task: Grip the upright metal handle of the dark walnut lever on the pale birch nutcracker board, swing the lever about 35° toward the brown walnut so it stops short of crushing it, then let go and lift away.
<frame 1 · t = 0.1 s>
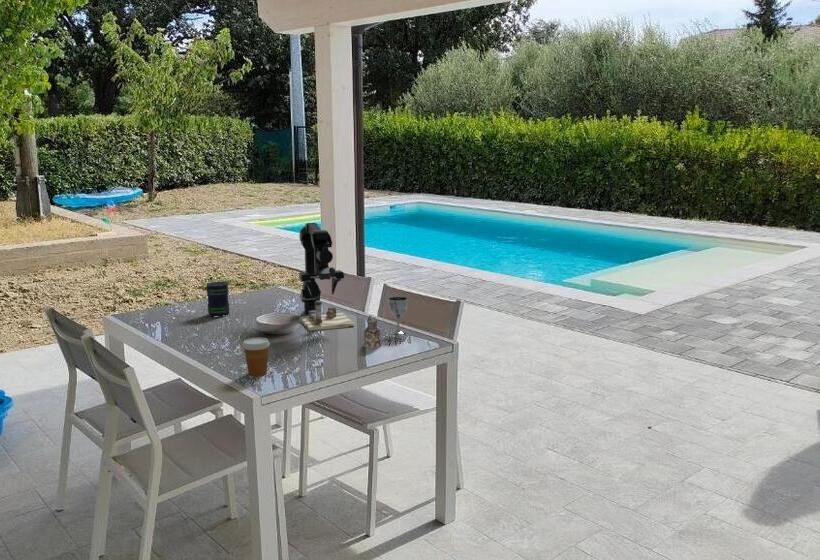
hand: (322, 295, 328), 15 cm above the table, tool pointing down, fingers open, 9 cm apart
nutcracker base: (326, 323, 338), on the table
figurine: (372, 346, 302), on the table
disposable coffee cup: (257, 373, 269), on the table
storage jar: (219, 315, 356), on the table
lever: (315, 309, 335), point 7 cm above the table, hinge at 0.0°
wine glass: (398, 333, 321), on the table
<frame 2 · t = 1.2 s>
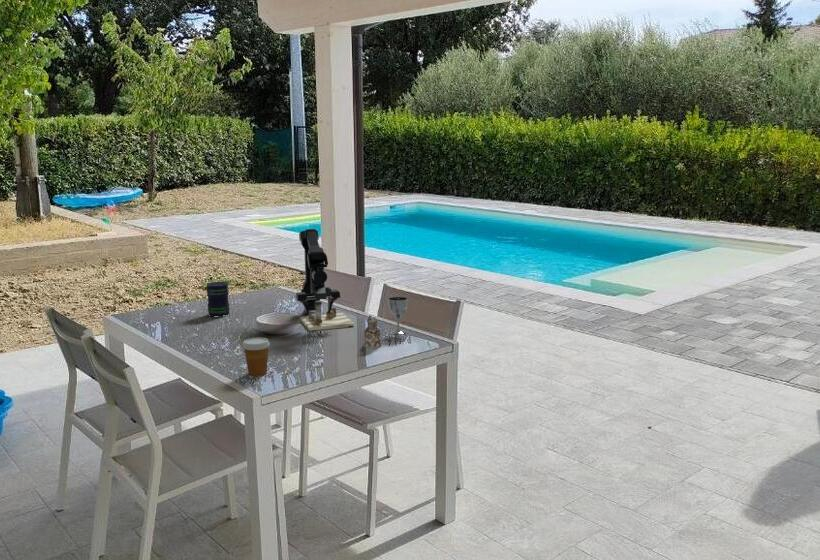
hand: (318, 314, 329), 6 cm above the table, tool pointing down, fingers open, 9 cm apart
nothing on the table moved.
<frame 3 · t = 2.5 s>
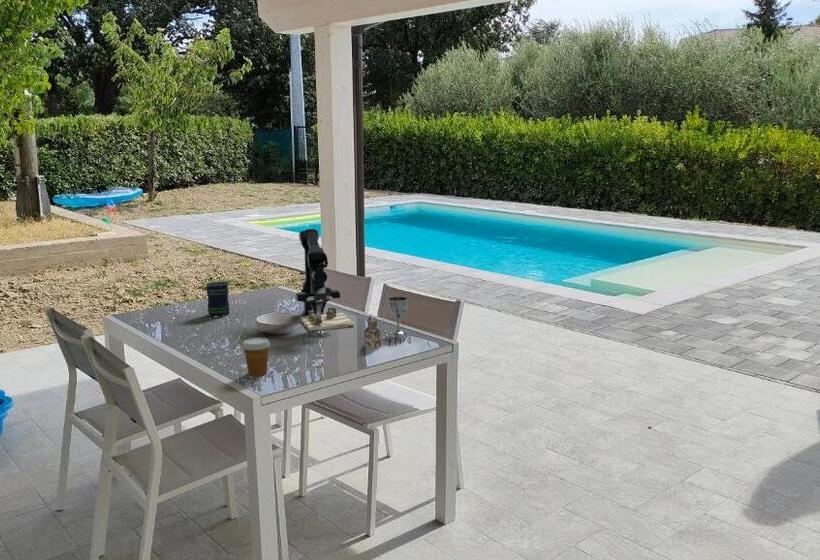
hand: (318, 314, 329), 6 cm above the table, tool pointing down, fingers closed on lever, 2 cm apart
lever: (315, 309, 335), point 7 cm above the table, hinge at 0.0°, touching gripper
everything else where it was.
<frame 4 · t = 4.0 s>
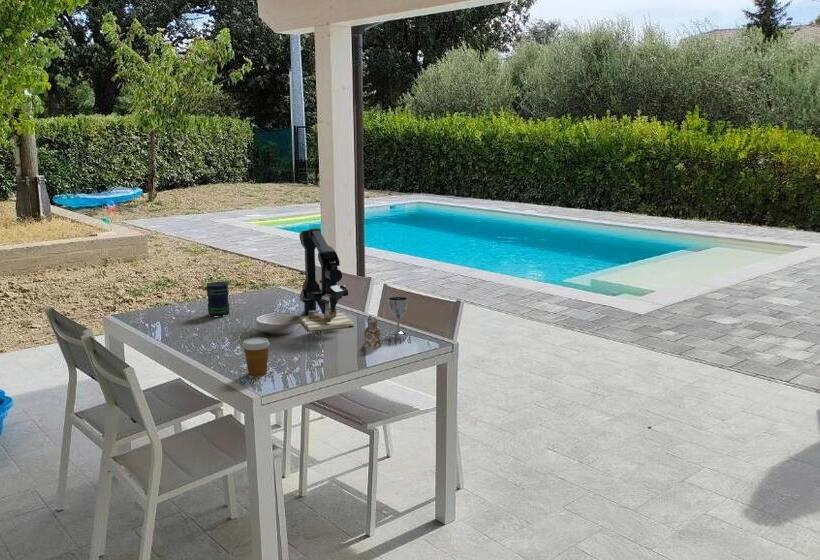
hand: (328, 313, 331), 6 cm above the table, tool pointing down, fingers open, 4 cm apart
lever: (319, 309, 336), point 7 cm above the table, hinge at 16.1°, touching gripper
everything else where it was.
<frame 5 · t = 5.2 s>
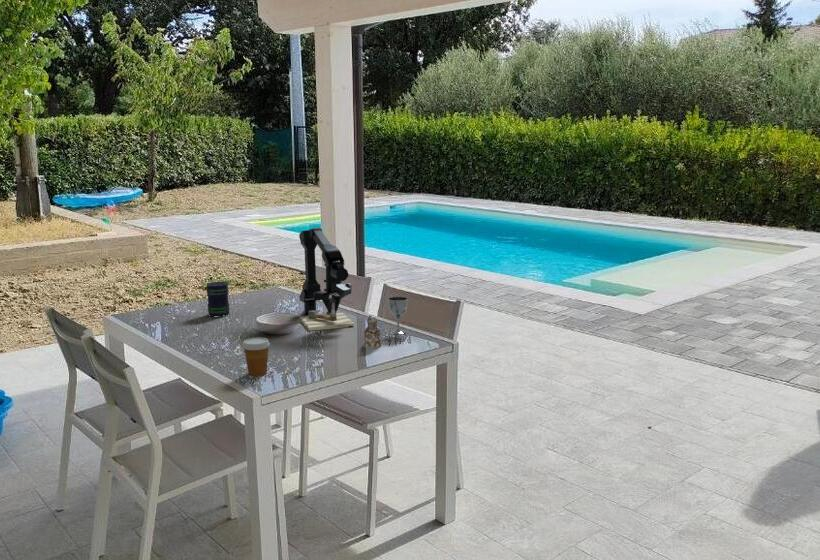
hand: (332, 312, 333), 6 cm above the table, tool pointing down, fingers open, 3 cm apart
lever: (321, 308, 337), point 7 cm above the table, hinge at 29.8°, touching gripper
everything else where it was.
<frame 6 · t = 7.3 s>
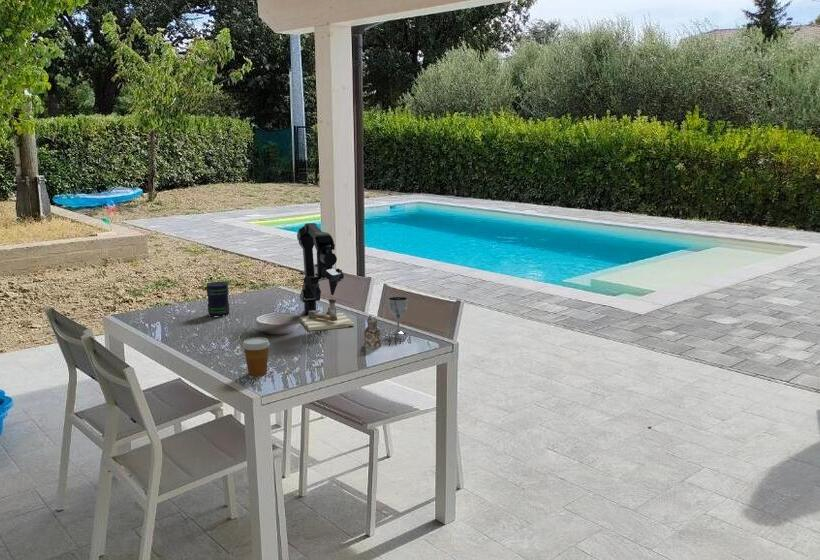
hand: (324, 296, 333), 13 cm above the table, tool pointing down, fingers open, 9 cm apart
lever: (322, 308, 337), point 7 cm above the table, hinge at 31.1°
everything else where it was.
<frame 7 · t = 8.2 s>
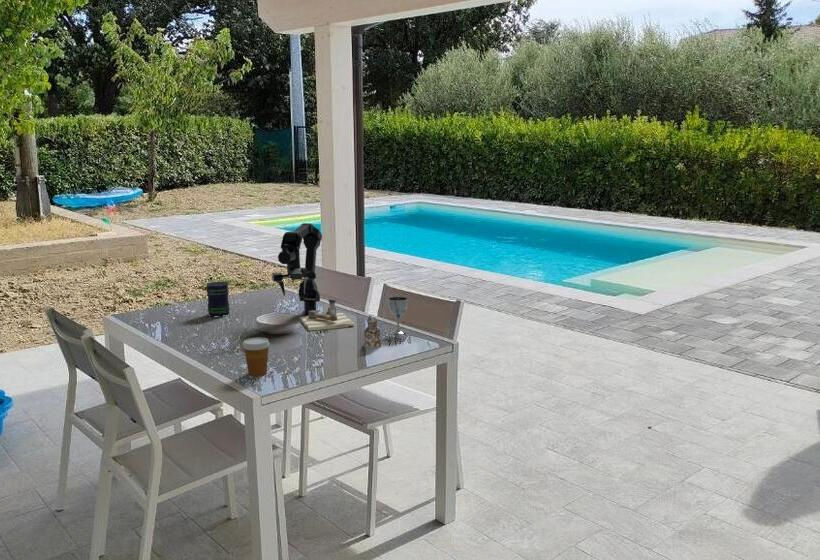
hand: (294, 294, 336), 13 cm above the table, tool pointing down, fingers open, 9 cm apart
nothing on the table moved.
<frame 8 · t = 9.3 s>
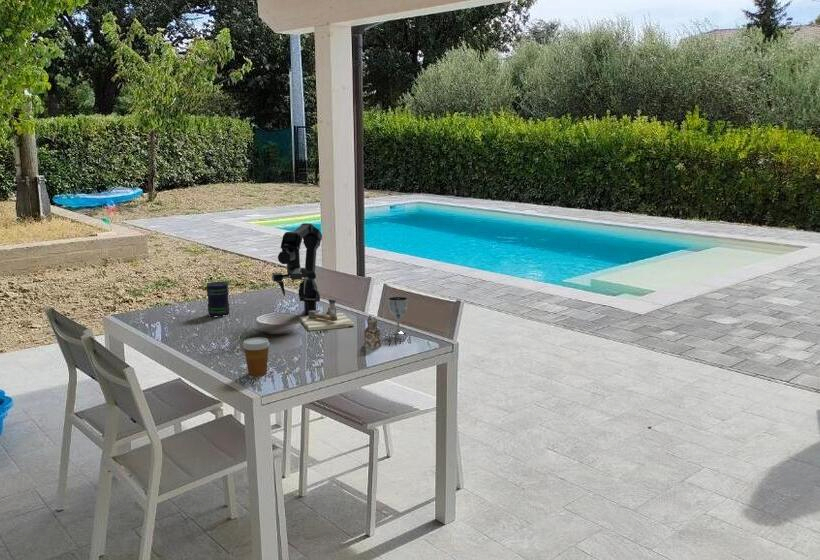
hand: (294, 294, 336), 13 cm above the table, tool pointing down, fingers open, 9 cm apart
nothing on the table moved.
at the end: lever at +31° (first picture: +0°); the gripper is holding nothing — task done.
